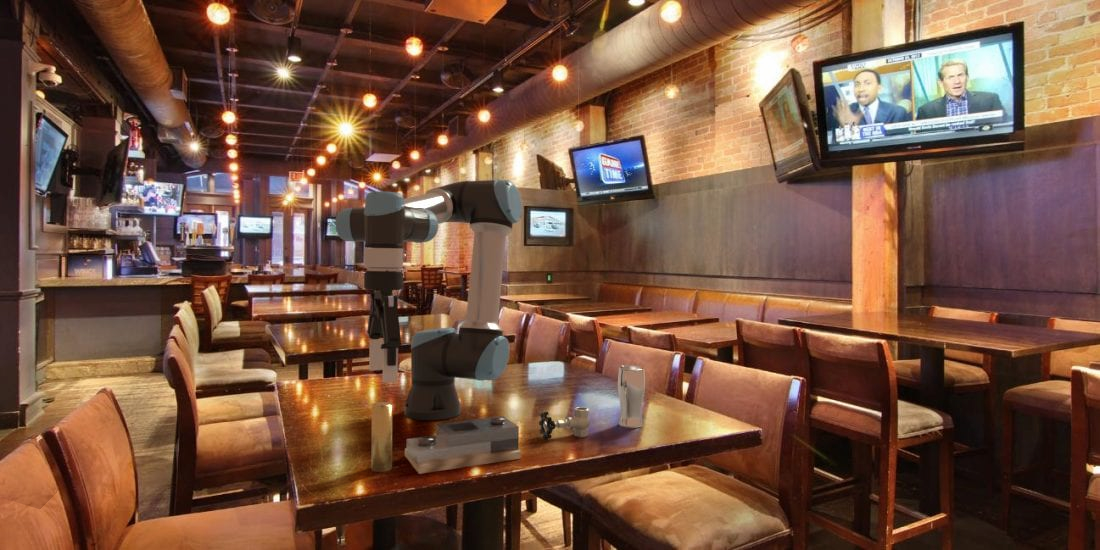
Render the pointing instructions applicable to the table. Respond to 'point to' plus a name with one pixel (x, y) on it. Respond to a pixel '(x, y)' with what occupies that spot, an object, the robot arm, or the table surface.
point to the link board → (463, 461)
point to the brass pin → (381, 437)
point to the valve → (567, 423)
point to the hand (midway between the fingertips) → (382, 376)
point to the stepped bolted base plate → (465, 440)
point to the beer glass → (631, 395)
